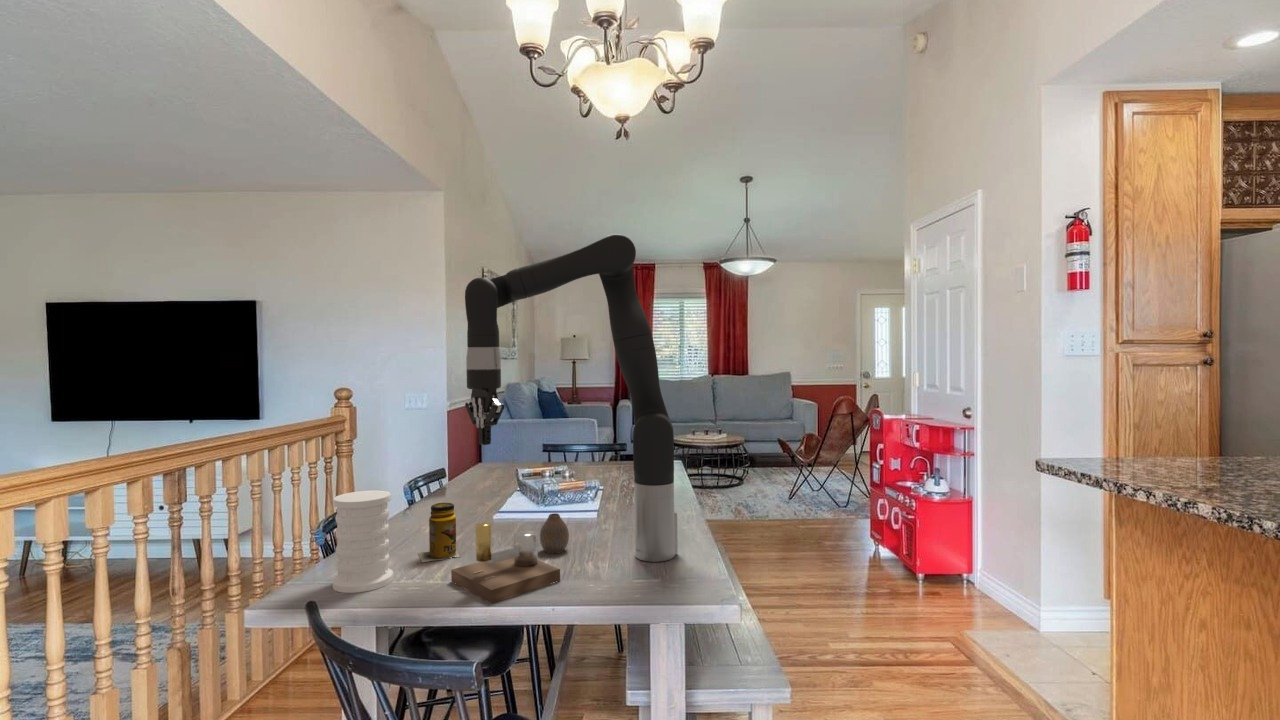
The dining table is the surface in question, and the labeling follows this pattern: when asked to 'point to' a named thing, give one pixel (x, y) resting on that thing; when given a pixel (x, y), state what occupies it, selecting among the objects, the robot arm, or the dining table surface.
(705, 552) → the dining table surface
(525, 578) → the stand
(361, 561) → the decorative container
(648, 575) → the dining table surface
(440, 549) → the condiment
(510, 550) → the crank handle
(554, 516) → the vase
